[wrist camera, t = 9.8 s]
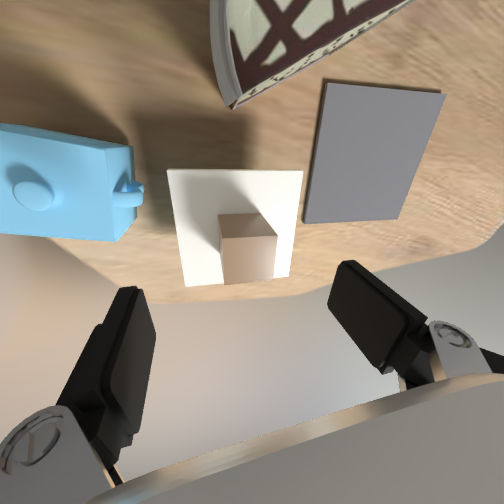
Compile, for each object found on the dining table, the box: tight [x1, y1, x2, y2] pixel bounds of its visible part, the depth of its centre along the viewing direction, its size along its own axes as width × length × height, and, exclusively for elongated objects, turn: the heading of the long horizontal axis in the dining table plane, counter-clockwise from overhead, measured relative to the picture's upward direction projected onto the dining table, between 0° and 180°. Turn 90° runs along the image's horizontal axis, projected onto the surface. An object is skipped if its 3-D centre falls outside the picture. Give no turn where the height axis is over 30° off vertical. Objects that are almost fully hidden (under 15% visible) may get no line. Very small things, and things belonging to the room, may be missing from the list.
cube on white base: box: [167, 169, 303, 287], centre depth 16 cm, size 10×10×5 cm
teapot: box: [0, 123, 144, 242], centre depth 14 cm, size 12×6×8 cm, turn 79°
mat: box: [303, 83, 447, 224], centre depth 22 cm, size 13×13×1 cm
